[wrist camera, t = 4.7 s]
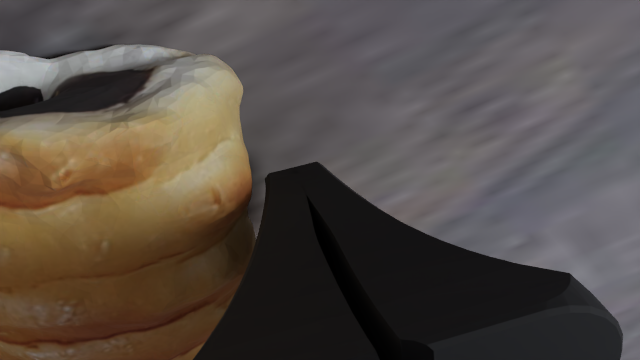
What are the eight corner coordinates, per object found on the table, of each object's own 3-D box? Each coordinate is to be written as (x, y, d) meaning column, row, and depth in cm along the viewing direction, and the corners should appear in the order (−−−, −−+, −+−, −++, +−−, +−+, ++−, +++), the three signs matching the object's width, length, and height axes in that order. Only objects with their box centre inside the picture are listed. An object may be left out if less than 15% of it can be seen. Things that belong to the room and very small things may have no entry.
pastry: (260, 341, 17) (280, 461, 13) (12, 383, 15) (-30, 526, 12) (233, 21, 12) (255, 90, 8) (-133, 45, 10) (-267, 136, 7)
